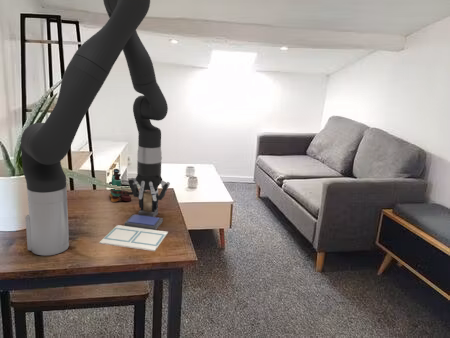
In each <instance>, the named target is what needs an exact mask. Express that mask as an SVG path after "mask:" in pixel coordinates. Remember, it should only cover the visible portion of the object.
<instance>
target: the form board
mask: <svg viewBox="0 0 450 338" xmlns="http://www.w3.org/2000/svg"><path fill="white" fill-rule="evenodd" d="M168 233H169V231H166V230H165V231H164V230H157V229H156V230H151V229H143V228H136V227H129V226H124V225H121V224H120V225H119V224H116V226H115V227H114V228H112V230H110V231H109V233H108V234H106V235H105V236H104V237H103V238H102V239H101V240H100V241H99V245H100V244H103V245H108V246H115V247H120V248H121V247H122V248H123V247H124V248H131V249H136V250H137V249H138V250H145V251H150V252H156V251H157V249H158V248H159V246H160V245H161V243H162V242H163V241H164V239H165V238H166V236H168Z"/></svg>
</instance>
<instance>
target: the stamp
mask: <svg viewBox="0 0 450 338" xmlns="http://www.w3.org/2000/svg"><path fill="white" fill-rule="evenodd" d="M152 201H153V197H152V194H151V191H150V190H146V191H145V192H144V194H143V210H141V209H139V210H138V213H137V215H142V216H150V217H157V216H158V215H159V207H158V208H157V210H155V211H152Z"/></svg>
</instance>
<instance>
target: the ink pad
mask: <svg viewBox="0 0 450 338" xmlns="http://www.w3.org/2000/svg"><path fill="white" fill-rule="evenodd" d="M163 219H164V218H163V217H158V216H155V217H150V216H142V215H138V214H135V213H134V214H132V215H130V216H129V218H128V219H126V221H125V222H124V223H123V224H124V225H123V226H129V227H136V228H143V229H151V230H157V229H159V227H160V226H161V224H162V223H163V222H164V221H163Z"/></svg>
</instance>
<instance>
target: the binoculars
mask: <svg viewBox="0 0 450 338" xmlns="http://www.w3.org/2000/svg"><path fill="white" fill-rule="evenodd" d="M112 173H113V174H112V176H111V181H109V182H108V185H110V184H112V185H117V186H130V185H129V184H127V183H126V184H125V183H123V184H122V179H121V178H120V177H121V176H122V175H121V173H120V169H118V168H114V169H113V170H112ZM109 189H110V188H109ZM131 196H133V193H132V191H127V190H123V189H121V190H115V189H110V193H109V197H110V202H112V203H115V202H118V201H125V202H131V200H132V197H131Z"/></svg>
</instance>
